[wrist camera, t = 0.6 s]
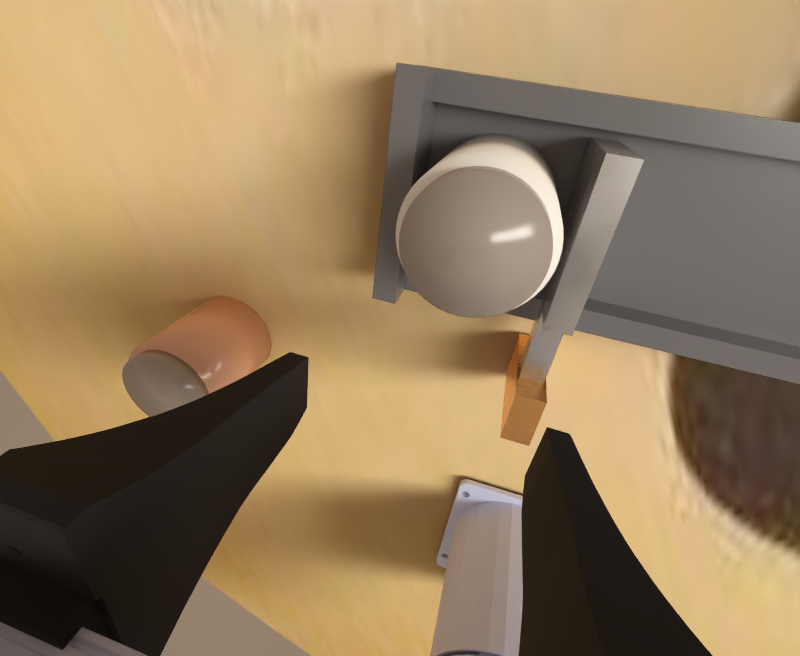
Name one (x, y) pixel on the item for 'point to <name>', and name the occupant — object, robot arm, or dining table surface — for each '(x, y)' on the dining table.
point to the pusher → (569, 279)
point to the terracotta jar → (197, 355)
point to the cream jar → (482, 227)
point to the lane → (636, 210)
